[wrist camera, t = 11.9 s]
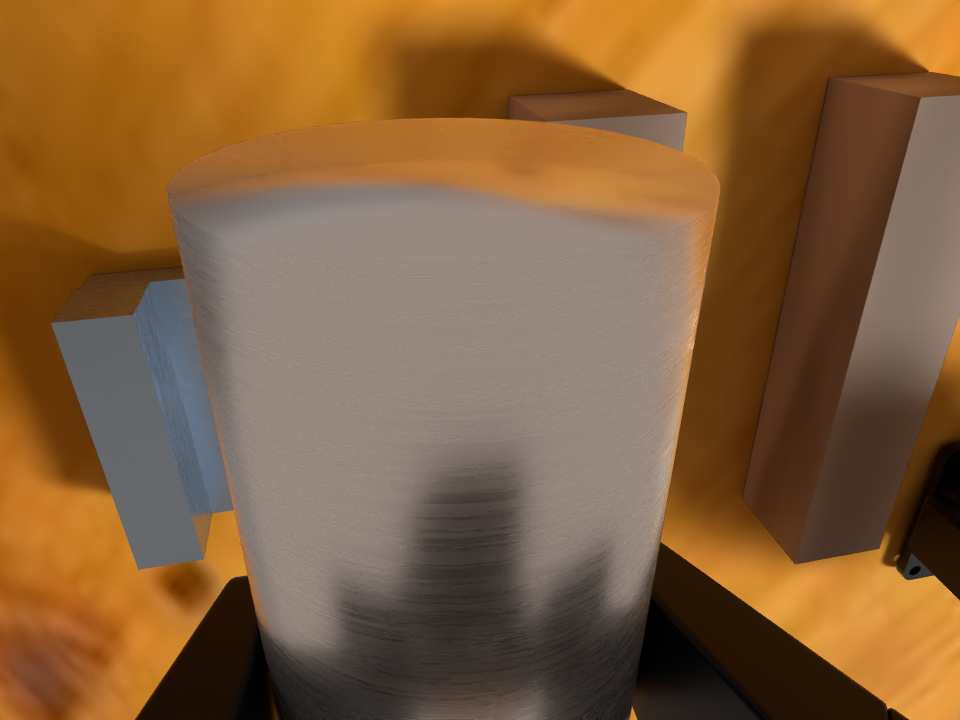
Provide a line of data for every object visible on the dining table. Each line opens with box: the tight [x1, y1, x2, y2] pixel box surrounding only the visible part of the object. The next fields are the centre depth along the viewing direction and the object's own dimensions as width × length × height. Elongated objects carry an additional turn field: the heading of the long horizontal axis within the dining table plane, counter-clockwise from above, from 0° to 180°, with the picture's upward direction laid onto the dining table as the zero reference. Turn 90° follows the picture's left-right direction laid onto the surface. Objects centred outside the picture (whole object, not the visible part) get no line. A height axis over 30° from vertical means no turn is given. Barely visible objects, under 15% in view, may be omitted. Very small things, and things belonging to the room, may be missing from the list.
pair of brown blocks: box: [509, 72, 960, 564], centre depth 20 cm, size 12×14×3 cm
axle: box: [167, 118, 721, 720], centre depth 8 cm, size 10×4×4 cm, turn 0°
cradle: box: [51, 267, 234, 569], centre depth 18 cm, size 9×7×3 cm
